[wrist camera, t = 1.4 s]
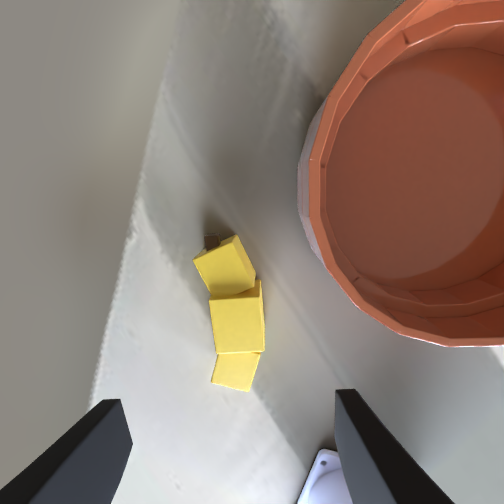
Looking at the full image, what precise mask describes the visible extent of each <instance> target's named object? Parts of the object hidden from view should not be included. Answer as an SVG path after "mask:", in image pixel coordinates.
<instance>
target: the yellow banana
mask: <svg viewBox="0 0 504 504" xmlns="http://www.w3.org/2000/svg"><path fill="white" fill-rule="evenodd" d="M205 244H206V249H203V250H202V251H201V252H200V253H199V254H198V255H197V256H196V257H195V258H194V259H193V262H194V264H195V266H196V267H197V269H198V271H199V273H200V275H201V277H202V279H203V281H204V282H205V284H206V286H207V288H208V290H209V292H210V294H211V297H210V299H209V306H210V313H211V320H212V327H213V335H214V342H215V349H216V354H218V356H217V360H216V364H215V368H214V371H213V375H212V379H211V383H214V384H218V385H222V386H226V387H229V388H233V389H237V390H241V391H245V392H249V391H250V387H251V384H252V381H253V378H254V374H255V371H256V368H257V365H258V362H259V358H260V355H261V352H263V351H265V322H264V311H263V300H262V288H261V280H255V275H256V272H255V270H254V268H253V266H252V264H251V262H250V260H249V258H248V256H247V254H246V252H245V250H244V248H243V246H242V244H241V241H240V239H239V237H238V235H237V234H236V235H234V236H231V237H229V238H227V239H225V240H223V241H221V240H220V234H219V233H214V234H207V235H206V236H205Z"/></svg>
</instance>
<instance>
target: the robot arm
mask: <svg viewBox="0 0 504 504" xmlns="http://www.w3.org/2000/svg"><path fill="white" fill-rule="evenodd" d="M335 441H336V445H337V450H338V452H335V451H331V450H327V449H322V450H320V451H319V452H318V455H317V457H316V459H315V462H314V464H313V467H312V469H311V471H310V474H309V476H308V479H307V481H306V483H305V486H304V488H303V490H302V493H301V495H300V498H299V500H298V502H297V504H455V503H454V502H453V501H452V500H451V499H450V498H449V497H448V496H447V495H446V494H445V493H444V492H443V491H442V490H441V489H440V488H439V486H438V485H437V484H436V483H435V482H434V481H433V480H432V479H431V478H430V477H429V476H428V475H427V474H426V472H425V471H424V470H423V469H422V468H421V467H420V466H419V465H418V464H417V463H416V461H415V460H414V459H413V458H412V457H411V456H410V455H409V453H408V452H407V451H406V450H405V449H404V448H403V447H402V445H401V444H400V443H399V442H398V441H397V440H396V439H395V437H394V436H393V435H392V434H391V433H390V431H389V430H388V429H387V428H386V427H385V425H384V424H383V423H382V422H381V421H380V419H379V418H378V417H377V416H376V414H375V413H374V412H373V411H372V409H371V408H370V407H369V406H368V404H367V403H366V402H365V400H364V399H363V398H362V397H361V395H360V394H359V393H358V391H356V390H355V389H339V390H336V391H335ZM132 445H133V442H132V439H131V435H130V432H129V428H128V425H127V421H126V418H125V414H124V411H123V407H122V404H121V400H120V399H106V400H102V401H101V402H99V403H98V404H97V405H96V406H95V407H94V408H92V409H91V410H90V411H89V412H88V413H87V414H86V415H85V416H84V417H83V418H81V419H80V420H79V421H78V422H77V423H76V424H75V425H74V426H72V428H70V429H69V430H68V431H67V432H66V433H65V434H64V435H63V436H62V437H60V438H59V439H58V440H57V441H56V442H55V443H54V444H53V445H51V447H49V448H48V449H47V450H46V451H45V452H44V453H43V454H42V455H40V456H39V457H38V458H37V459H36V460H35V461H34V462H32V463H31V464H30V465H29V466H28V467H27V468H26V469H24V470H23V471H22V472H21V473H20V474H19V475H17V476H16V477H15V478H14V479H13V480H12V481H10V482H9V483H8V484H7V485H6V486H4V487H3V488H2V489H1V490H0V504H111V502H112V499H113V497H114V495H115V493H116V490H117V488H118V486H119V483H120V481H121V478H122V475H123V472H124V470H125V467H126V464H127V461H128V458H129V455H130V451H131V448H132Z"/></svg>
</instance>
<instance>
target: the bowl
mask: <svg viewBox="0 0 504 504" xmlns="http://www.w3.org/2000/svg"><path fill="white" fill-rule="evenodd" d="M297 167H298V168H297V192H298V213H299V216H300V219H301V221H302V224H303V227H304V230H305V233H306V236H307V239H308V242H309V245H310V247H311V249H312V251H313V252H314V253H315V255H316V256H317V257H318V259H319V260H320V261H321V262H322V264H323V265H324V266H325V268H326V269H327V270H328V272H329V273H330V274H331V275H332V277H333V278H334V279H335V280H336V282H337V283H338V284H339V286H340V287H341V288H342V289H343V291H344V292H345V293H346V294H347V296H348V297H349V298H350V300H351V301H352V302H353V303H354V305H355V306H356V307H357V308H358V309H360V310H362V311H363V312H365V313H366V314H368V315H369V316H371V317H372V318H374V319H376V320H377V321H379V322H380V323H382V324H383V325H385V326H386V327H388V328H390V329H391V330H393V331H394V332H396V333H398V334H400V335H404V336H408V337H412V338H415V339H419V340H423V341H427V342H430V343H434V344H438V345H442V346H445V347H479V346H504V0H405V1H404V2H403V3H402V4H400V5H399V6H398V7H397V8H396V9H395V10H394V11H393V12H391V13H390V14H389V15H388V16H387V17H386V18H385V19H384V20H383V21H381V22H380V23H379V24H378V25H377V26H376V27H375V28H374V29H372V30H371V31H370V32H369V33H368V34H367V35H366V37H365V38H364V40H363V41H362V43H361V44H360V46H359V47H358V49H357V51H356V52H355V54H354V55H353V57H352V58H351V60H350V61H349V63H348V65H347V66H346V68H345V69H344V71H343V72H342V74H341V75H340V77H339V79H338V80H337V82H336V83H335V85H334V86H333V88H332V89H331V91H330V93H329V94H328V96H327V97H326V99H325V100H324V102H323V104H322V105H321V107H320V108H319V110H318V111H317V113H316V114H315V116H314V118H313V119H312V121H311V123H310V125H309V129H308V132H307V136H306V139H305V142H304V146H303V149H302V153H301V156H300V160H299V163H298V166H297Z"/></svg>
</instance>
